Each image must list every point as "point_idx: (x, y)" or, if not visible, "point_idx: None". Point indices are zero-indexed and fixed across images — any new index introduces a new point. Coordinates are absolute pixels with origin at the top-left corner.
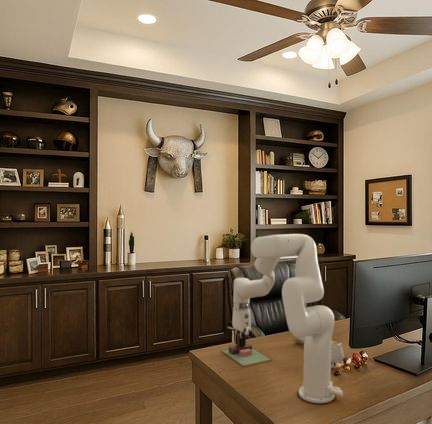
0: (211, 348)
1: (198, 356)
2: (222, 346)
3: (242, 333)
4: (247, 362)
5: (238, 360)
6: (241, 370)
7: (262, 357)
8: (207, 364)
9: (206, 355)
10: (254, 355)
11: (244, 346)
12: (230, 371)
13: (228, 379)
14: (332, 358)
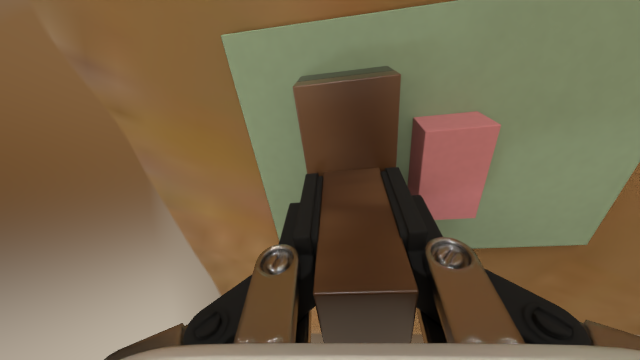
0: (219, 271)
1: (311, 331)
2: (193, 218)
3: (399, 312)
4: (573, 206)
5: (492, 237)
6: (613, 264)
7: (616, 37)
8: (416, 333)
9: (312, 310)
10: (503, 94)
11: (379, 164)
12: (566, 301)
13: (627, 329)
14: None
